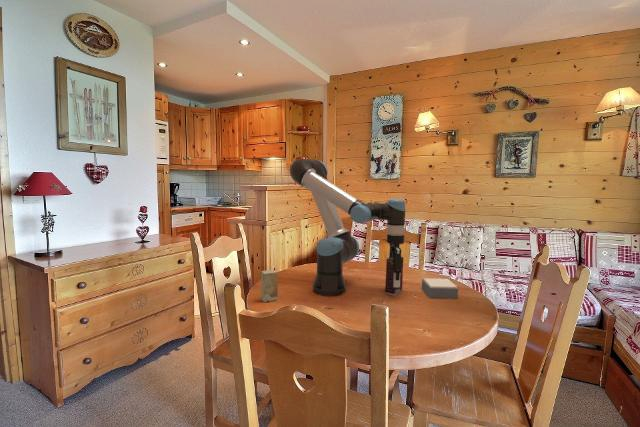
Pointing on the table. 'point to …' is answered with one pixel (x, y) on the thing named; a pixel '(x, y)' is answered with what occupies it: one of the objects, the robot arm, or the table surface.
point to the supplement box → (392, 278)
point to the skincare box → (269, 285)
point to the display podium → (439, 288)
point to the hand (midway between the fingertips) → (394, 282)
